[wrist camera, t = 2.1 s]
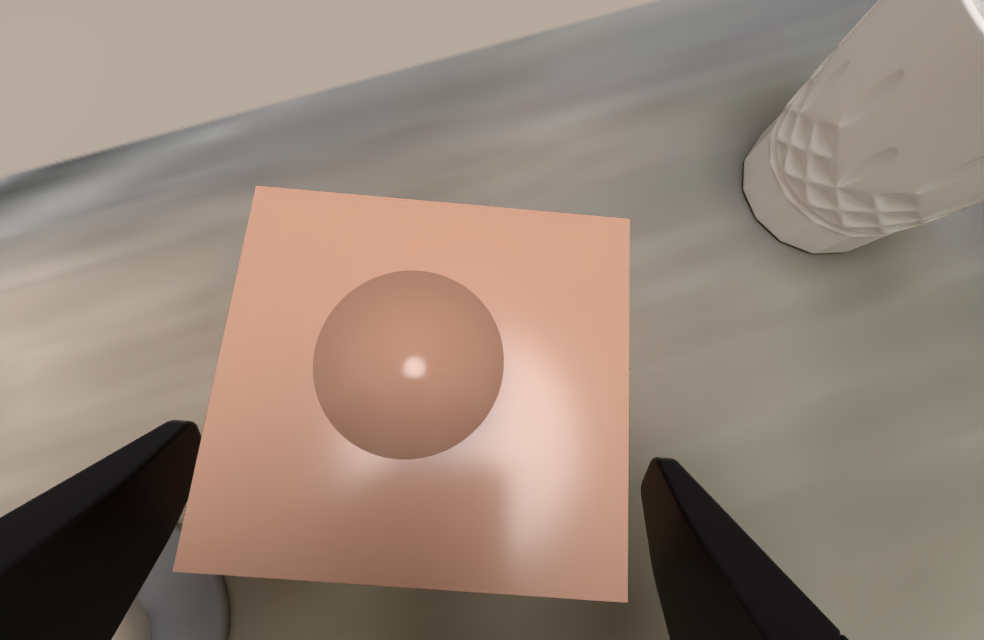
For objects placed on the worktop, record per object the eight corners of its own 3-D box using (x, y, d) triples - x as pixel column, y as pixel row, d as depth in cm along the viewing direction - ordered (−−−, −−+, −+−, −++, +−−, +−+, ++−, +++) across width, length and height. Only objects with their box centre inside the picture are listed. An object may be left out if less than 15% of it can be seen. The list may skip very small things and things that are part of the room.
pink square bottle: (534, 493, 17) (688, 674, 5) (354, 480, 17) (50, 633, 5) (543, 330, 19) (676, 157, 6) (376, 317, 19) (188, 112, 6)
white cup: (896, 281, 20) (1300, 147, 10) (723, 251, 20) (964, 88, 10) (889, 130, 22) (1229, -107, 12) (731, 103, 22) (942, -158, 12)
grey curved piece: (234, 742, 15) (224, 755, 14) (-19, 798, 14) (-40, 814, 14) (225, 495, 17) (216, 498, 16) (-2, 536, 16) (-19, 540, 16)
